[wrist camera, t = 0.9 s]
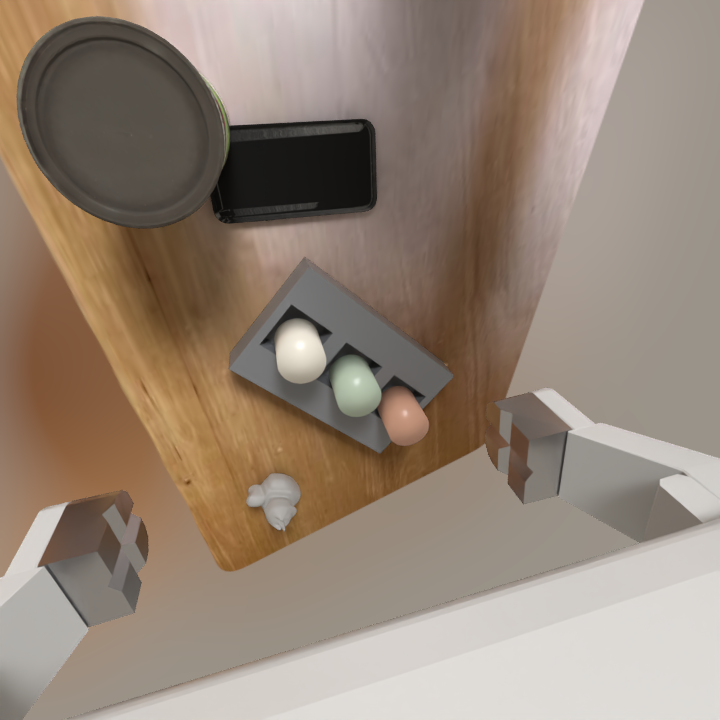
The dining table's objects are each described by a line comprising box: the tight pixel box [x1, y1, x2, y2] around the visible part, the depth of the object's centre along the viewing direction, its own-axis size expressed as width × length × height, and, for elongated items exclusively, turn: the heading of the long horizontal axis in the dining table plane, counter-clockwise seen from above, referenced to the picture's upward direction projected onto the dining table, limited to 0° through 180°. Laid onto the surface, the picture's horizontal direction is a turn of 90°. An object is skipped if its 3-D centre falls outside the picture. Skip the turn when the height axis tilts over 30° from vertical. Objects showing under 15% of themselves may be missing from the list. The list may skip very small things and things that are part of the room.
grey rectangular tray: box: [229, 257, 454, 453], centre depth 49 cm, size 13×21×4 cm, turn 49°
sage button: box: [329, 355, 381, 417], centre depth 45 cm, size 4×4×5 cm
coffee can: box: [17, 16, 230, 228], centre depth 30 cm, size 10×10×14 cm
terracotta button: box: [377, 386, 429, 446], centre depth 48 cm, size 4×4×5 cm
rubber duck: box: [247, 473, 301, 531], centre depth 53 cm, size 5×7×8 cm
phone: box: [211, 119, 377, 223], centre depth 40 cm, size 8×1×15 cm
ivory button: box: [274, 318, 326, 384], centre depth 42 cm, size 4×4×5 cm
